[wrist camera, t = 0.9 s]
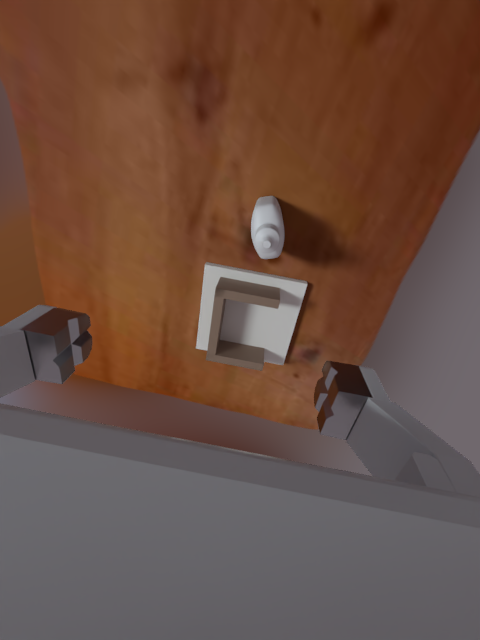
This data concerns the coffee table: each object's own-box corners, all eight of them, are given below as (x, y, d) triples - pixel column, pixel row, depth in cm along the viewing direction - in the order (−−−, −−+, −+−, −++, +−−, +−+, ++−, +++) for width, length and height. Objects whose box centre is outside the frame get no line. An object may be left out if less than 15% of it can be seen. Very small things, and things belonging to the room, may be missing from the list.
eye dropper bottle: (294, 204, 35) (303, 223, 24) (275, 247, 38) (276, 280, 27) (261, 190, 35) (255, 203, 24) (244, 234, 37) (233, 263, 27)
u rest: (206, 262, 40) (198, 274, 35) (306, 281, 39) (310, 296, 35) (197, 344, 46) (189, 363, 42) (282, 361, 46) (283, 382, 42)
